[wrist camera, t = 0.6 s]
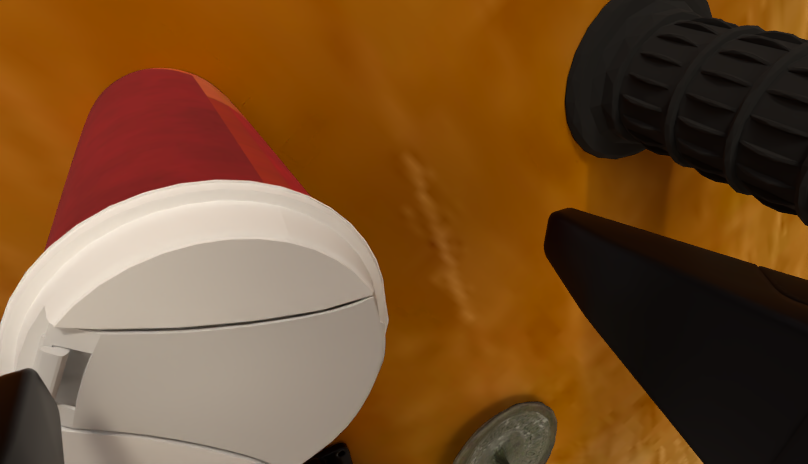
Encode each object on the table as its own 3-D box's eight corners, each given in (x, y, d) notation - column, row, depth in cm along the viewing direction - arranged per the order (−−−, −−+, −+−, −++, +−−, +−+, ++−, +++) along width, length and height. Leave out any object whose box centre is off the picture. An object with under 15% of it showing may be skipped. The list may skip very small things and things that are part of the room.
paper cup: (31, 202, 21) (-55, 548, 10) (80, 0, 18) (38, 158, 7) (236, 241, 25) (334, 509, 14) (296, 81, 23) (470, 257, 12)
